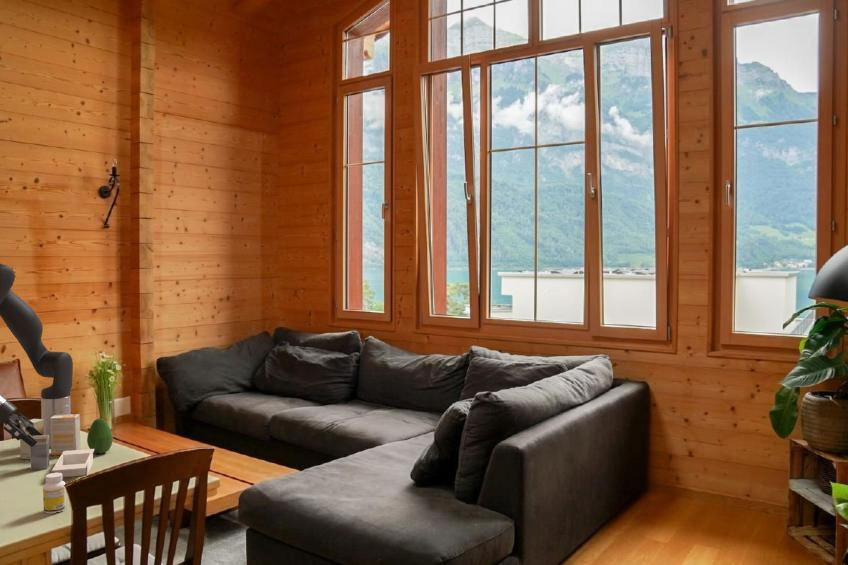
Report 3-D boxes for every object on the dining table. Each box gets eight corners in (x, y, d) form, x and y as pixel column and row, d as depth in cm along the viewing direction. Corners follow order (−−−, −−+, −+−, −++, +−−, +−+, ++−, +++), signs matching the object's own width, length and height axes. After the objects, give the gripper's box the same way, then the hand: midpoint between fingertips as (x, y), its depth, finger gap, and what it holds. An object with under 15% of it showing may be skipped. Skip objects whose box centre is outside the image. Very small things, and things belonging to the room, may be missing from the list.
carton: (63, 461, 232) (63, 451, 232) (94, 459, 235) (94, 448, 235) (51, 481, 212) (51, 470, 212) (85, 479, 215) (85, 467, 215)
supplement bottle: (48, 507, 191) (48, 471, 191) (69, 506, 192) (69, 471, 191) (39, 514, 186) (39, 478, 185) (61, 514, 186) (60, 477, 186)
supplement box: (81, 451, 244) (80, 413, 243) (76, 455, 239) (75, 417, 239) (56, 451, 243) (55, 414, 242) (50, 455, 238) (49, 417, 238)
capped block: (33, 466, 226) (33, 435, 226) (49, 465, 228) (48, 434, 227) (31, 470, 223) (30, 439, 222) (46, 469, 224) (46, 438, 224)
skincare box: (31, 459, 233) (30, 423, 233) (19, 459, 234) (19, 422, 234) (45, 454, 240) (44, 418, 239) (34, 453, 241) (33, 418, 240)
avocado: (99, 449, 247) (99, 415, 246) (117, 451, 244) (117, 417, 244) (81, 455, 239) (81, 420, 239) (100, 457, 237) (99, 422, 236)
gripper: (-1, 403, 214) (42, 438, 219) (11, 394, 228) (51, 426, 232) (-20, 422, 213) (23, 456, 217) (-8, 411, 227) (33, 444, 231)
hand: (37, 441), depth 225 cm, fingers open, 8 cm apart
